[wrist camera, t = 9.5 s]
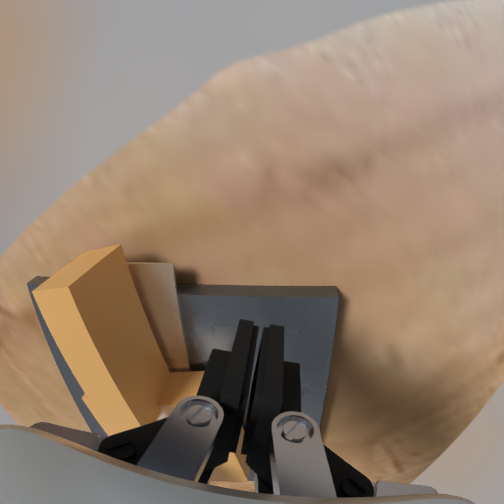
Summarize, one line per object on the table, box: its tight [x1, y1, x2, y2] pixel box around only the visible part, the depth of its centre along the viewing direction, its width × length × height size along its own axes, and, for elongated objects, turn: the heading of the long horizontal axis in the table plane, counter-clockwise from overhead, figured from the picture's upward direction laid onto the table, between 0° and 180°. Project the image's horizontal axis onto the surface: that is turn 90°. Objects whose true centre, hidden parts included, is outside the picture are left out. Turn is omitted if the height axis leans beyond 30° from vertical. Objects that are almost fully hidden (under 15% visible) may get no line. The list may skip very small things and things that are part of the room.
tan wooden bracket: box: [32, 244, 250, 482], centre depth 16 cm, size 9×18×5 cm, turn 11°
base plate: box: [27, 262, 339, 481], centre depth 17 cm, size 22×20×9 cm
